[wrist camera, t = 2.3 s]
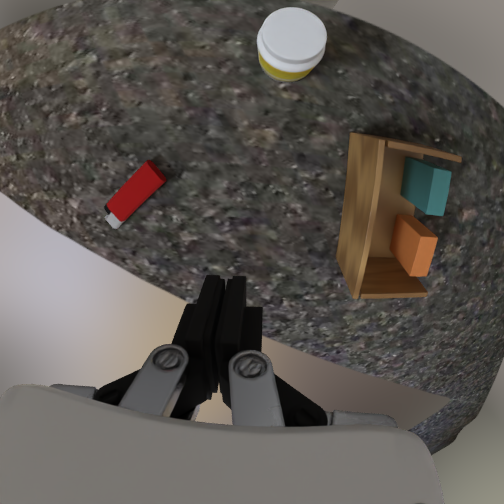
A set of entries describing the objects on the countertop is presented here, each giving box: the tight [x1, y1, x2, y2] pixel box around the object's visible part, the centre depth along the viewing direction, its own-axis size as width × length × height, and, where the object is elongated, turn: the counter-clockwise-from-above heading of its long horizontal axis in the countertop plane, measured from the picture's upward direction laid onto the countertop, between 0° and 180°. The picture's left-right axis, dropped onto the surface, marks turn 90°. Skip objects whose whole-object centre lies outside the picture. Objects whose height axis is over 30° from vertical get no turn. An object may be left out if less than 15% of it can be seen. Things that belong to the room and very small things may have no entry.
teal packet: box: [400, 156, 452, 216], centre depth 21 cm, size 4×2×6 cm, turn 179°
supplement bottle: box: [257, 7, 327, 82], centre depth 16 cm, size 5×5×8 cm
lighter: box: [104, 160, 166, 229], centre depth 26 cm, size 3×1×8 cm
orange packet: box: [389, 214, 438, 276], centre depth 24 cm, size 4×2×6 cm, turn 179°
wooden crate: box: [336, 132, 462, 299], centre depth 22 cm, size 13×8×7 cm, turn 0°
